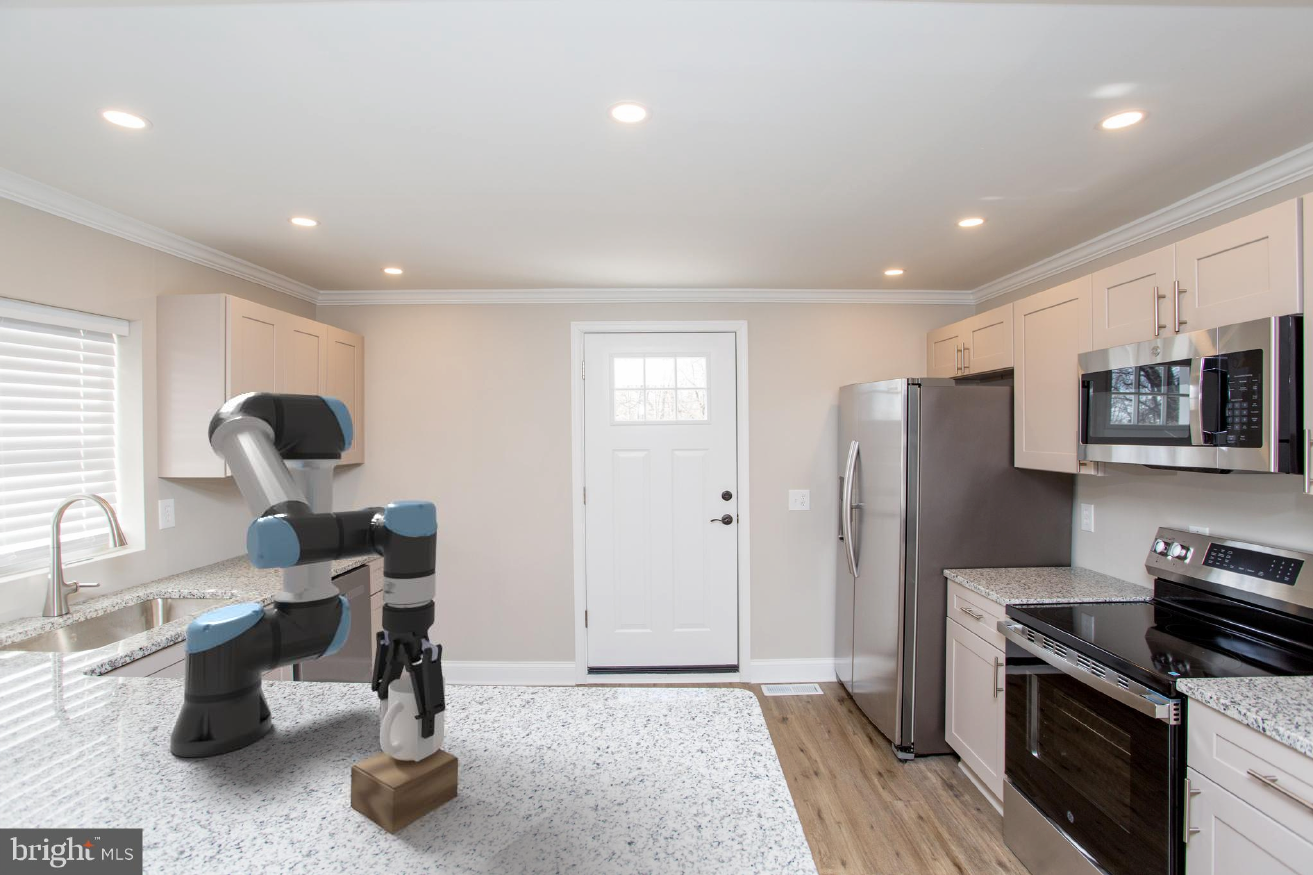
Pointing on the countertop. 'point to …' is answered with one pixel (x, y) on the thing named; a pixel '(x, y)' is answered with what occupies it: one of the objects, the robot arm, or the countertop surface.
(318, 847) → the countertop surface
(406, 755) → the mug
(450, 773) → the walnut block
